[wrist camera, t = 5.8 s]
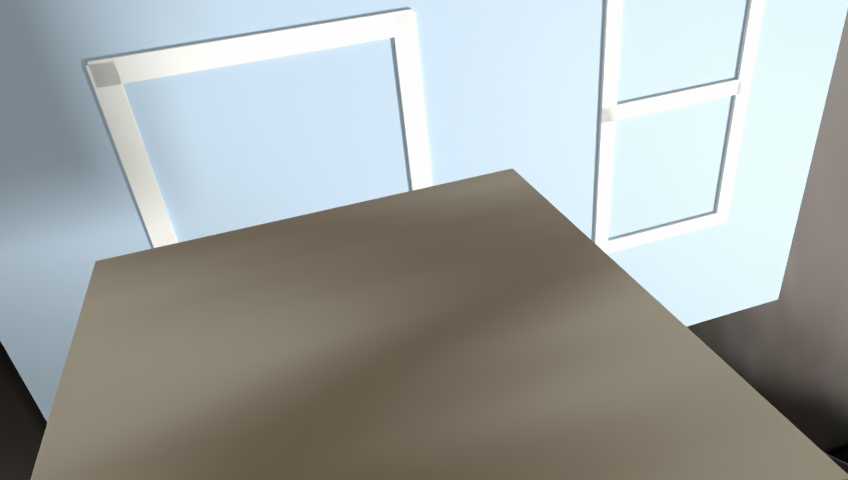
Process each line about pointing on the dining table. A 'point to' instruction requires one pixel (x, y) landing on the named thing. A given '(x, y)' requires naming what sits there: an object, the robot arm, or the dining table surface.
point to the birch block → (402, 357)
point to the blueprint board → (403, 131)
